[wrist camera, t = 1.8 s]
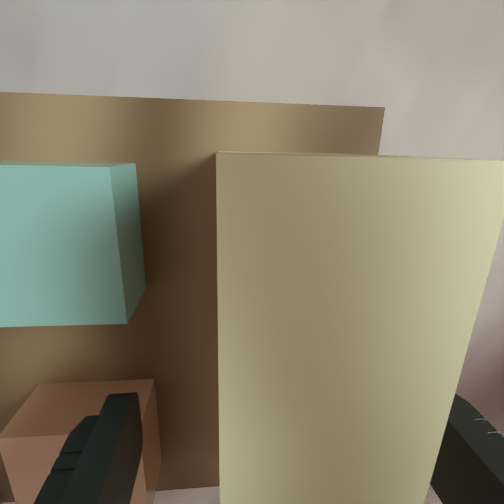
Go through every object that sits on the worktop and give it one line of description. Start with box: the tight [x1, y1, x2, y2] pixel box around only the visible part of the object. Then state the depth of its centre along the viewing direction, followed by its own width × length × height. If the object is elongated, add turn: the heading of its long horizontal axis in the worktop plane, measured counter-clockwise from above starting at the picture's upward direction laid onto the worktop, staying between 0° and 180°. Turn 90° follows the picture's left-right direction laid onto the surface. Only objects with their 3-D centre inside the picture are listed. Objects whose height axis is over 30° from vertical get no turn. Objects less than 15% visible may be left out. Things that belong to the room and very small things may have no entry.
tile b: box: [0, 379, 161, 504], centre depth 12 cm, size 4×4×2 cm
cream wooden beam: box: [216, 151, 504, 504], centre depth 9 cm, size 4×14×7 cm, turn 179°
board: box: [0, 92, 385, 503], centre depth 14 cm, size 16×17×2 cm
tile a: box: [0, 160, 146, 327], centre depth 10 cm, size 4×4×2 cm
